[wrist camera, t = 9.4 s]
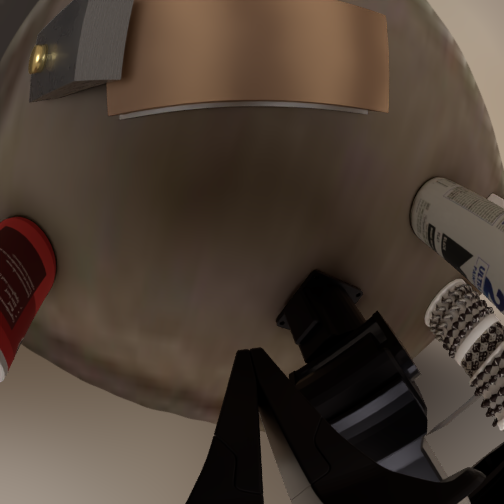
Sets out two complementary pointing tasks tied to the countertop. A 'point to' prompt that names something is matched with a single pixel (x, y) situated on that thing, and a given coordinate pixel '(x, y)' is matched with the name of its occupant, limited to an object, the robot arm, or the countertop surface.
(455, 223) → the spray can
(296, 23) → the body
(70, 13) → the lever cap
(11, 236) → the canned food
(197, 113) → the countertop surface
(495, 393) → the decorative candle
